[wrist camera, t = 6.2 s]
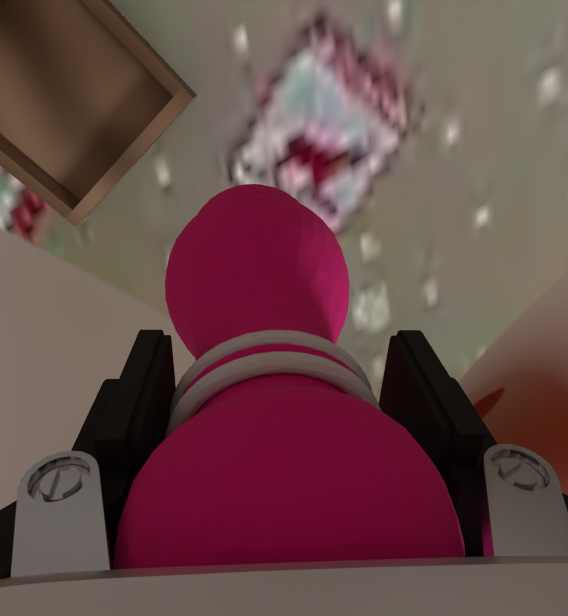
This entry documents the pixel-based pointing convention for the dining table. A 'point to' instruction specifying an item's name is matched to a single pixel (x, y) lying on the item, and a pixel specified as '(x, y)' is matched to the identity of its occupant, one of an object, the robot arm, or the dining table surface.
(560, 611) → the robot arm
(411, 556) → the magenta pepper mill
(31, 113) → the walnut tray
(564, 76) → the dining table surface
